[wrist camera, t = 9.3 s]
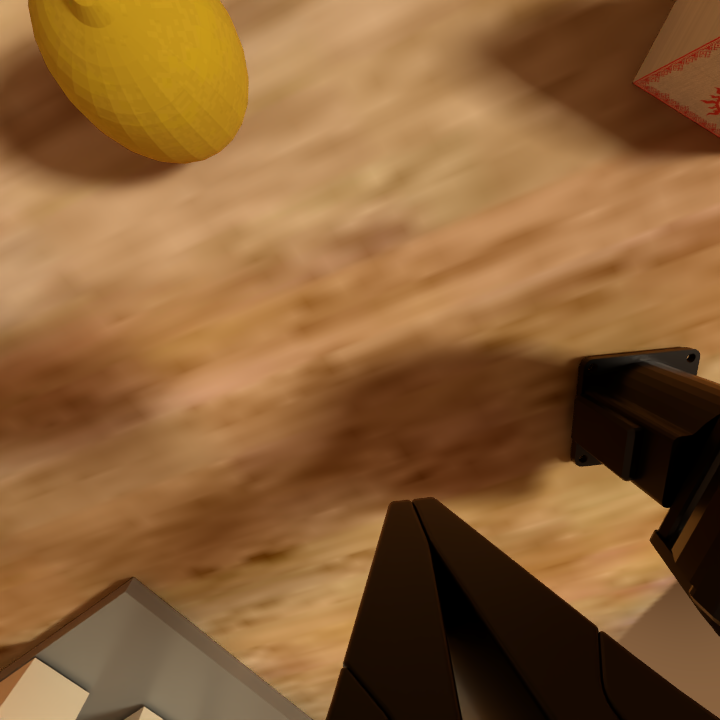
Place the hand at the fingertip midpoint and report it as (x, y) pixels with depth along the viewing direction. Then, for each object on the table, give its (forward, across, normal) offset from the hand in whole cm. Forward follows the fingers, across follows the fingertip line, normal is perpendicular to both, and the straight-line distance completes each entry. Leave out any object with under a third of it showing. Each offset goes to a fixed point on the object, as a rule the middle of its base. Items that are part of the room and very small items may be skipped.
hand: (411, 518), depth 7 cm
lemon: (+13, +6, -11) cm, 18 cm away
